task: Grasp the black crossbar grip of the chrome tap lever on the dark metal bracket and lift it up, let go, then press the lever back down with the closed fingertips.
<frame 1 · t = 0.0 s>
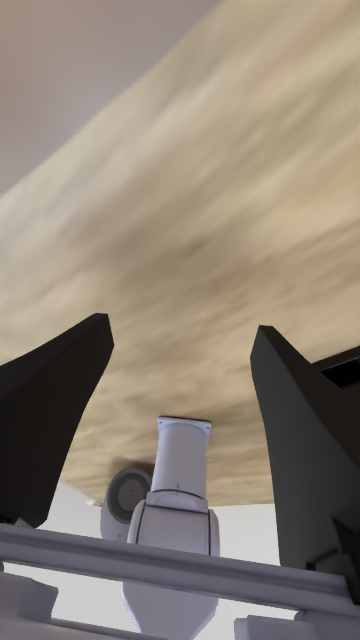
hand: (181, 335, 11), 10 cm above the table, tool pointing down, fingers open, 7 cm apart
tap bracket: (344, 380, 25), on the table
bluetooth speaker: (132, 479, 50), on the table
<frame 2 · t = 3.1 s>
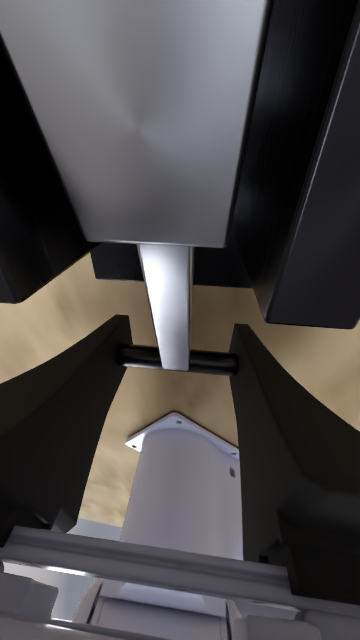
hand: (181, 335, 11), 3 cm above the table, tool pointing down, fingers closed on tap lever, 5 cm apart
tap lever: (171, 287, 6), point 6 cm above the table, hinge at -20.0°, touching gripper
tap bracket: (191, 142, 9), on the table
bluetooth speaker: (244, 521, 35), on the table
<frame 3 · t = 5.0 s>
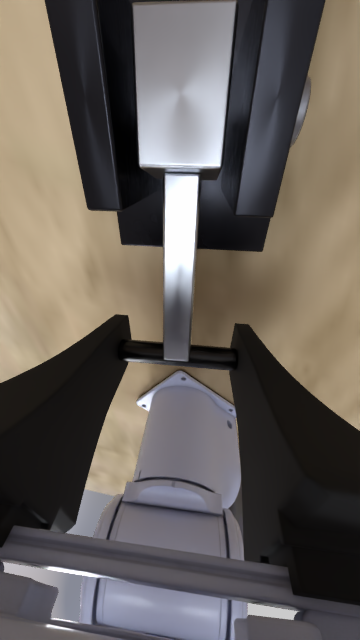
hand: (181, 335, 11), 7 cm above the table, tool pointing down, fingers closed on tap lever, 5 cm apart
tap lever: (180, 248, 8), point 8 cm above the table, hinge at 9.1°, touching gripper
tap bracket: (196, 138, 12), on the table
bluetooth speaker: (241, 487, 38), on the table
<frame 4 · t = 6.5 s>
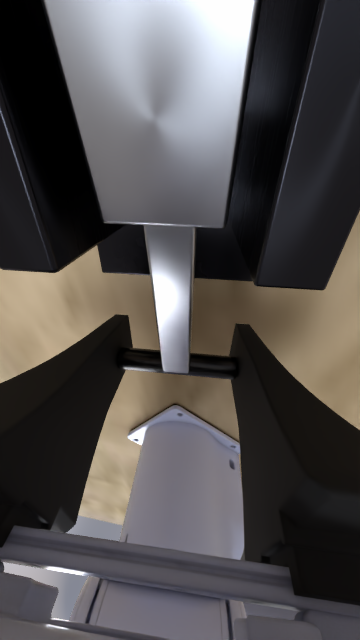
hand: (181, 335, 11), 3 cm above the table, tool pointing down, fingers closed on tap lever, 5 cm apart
tap lever: (174, 281, 6), point 6 cm above the table, hinge at -14.0°, touching gripper
tap bracket: (192, 144, 9), on the table
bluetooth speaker: (244, 517, 35), on the table
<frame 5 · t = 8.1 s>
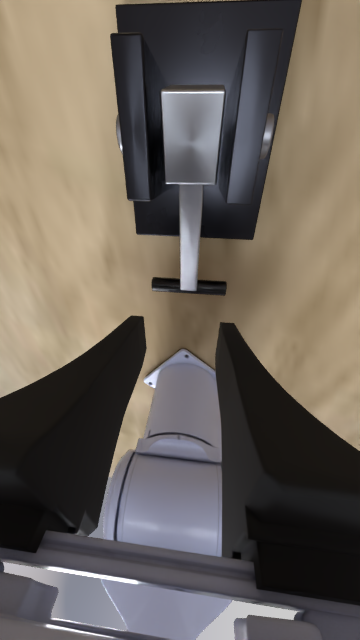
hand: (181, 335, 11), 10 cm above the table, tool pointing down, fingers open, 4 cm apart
tap lever: (190, 222, 12), point 6 cm above the table, hinge at -14.3°
tap bracket: (198, 147, 15), on the table
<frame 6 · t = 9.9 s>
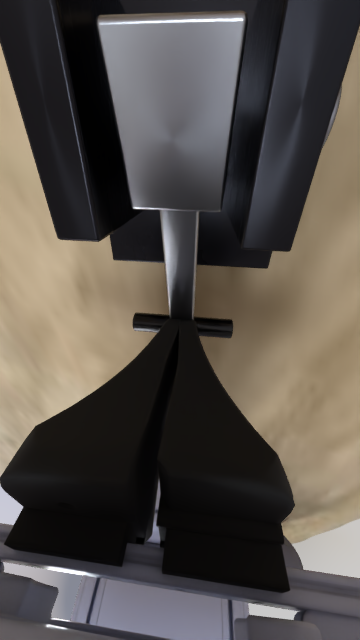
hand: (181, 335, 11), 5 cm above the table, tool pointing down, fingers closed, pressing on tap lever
tap lever: (181, 253, 8), point 6 cm above the table, hinge at -19.5°, touching gripper
tap bracket: (194, 145, 11), on the table
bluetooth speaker: (242, 502, 37), on the table
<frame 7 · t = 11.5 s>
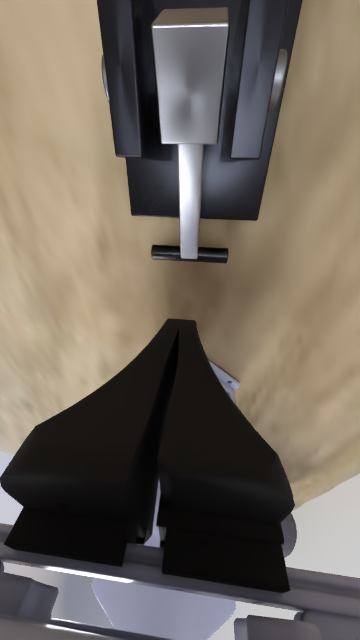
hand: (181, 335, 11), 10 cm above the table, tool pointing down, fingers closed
tap lever: (190, 185, 11), point 6 cm above the table, hinge at -25.0°
tap bracket: (198, 117, 13), on the table
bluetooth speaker: (240, 466, 40), on the table
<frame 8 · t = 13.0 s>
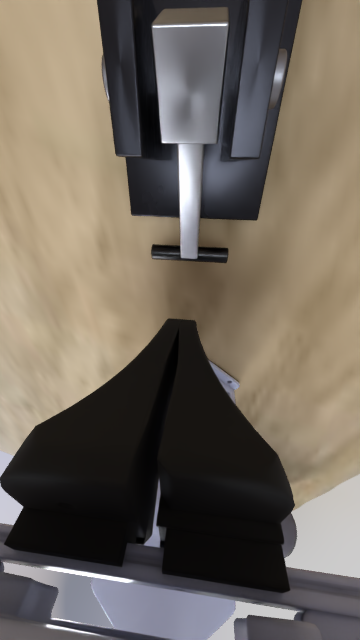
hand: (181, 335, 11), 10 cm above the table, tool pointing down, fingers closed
tap lever: (190, 184, 11), point 6 cm above the table, hinge at -25.0°
tap bracket: (198, 116, 13), on the table
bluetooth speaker: (240, 466, 40), on the table
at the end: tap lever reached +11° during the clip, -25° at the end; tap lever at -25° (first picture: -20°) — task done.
